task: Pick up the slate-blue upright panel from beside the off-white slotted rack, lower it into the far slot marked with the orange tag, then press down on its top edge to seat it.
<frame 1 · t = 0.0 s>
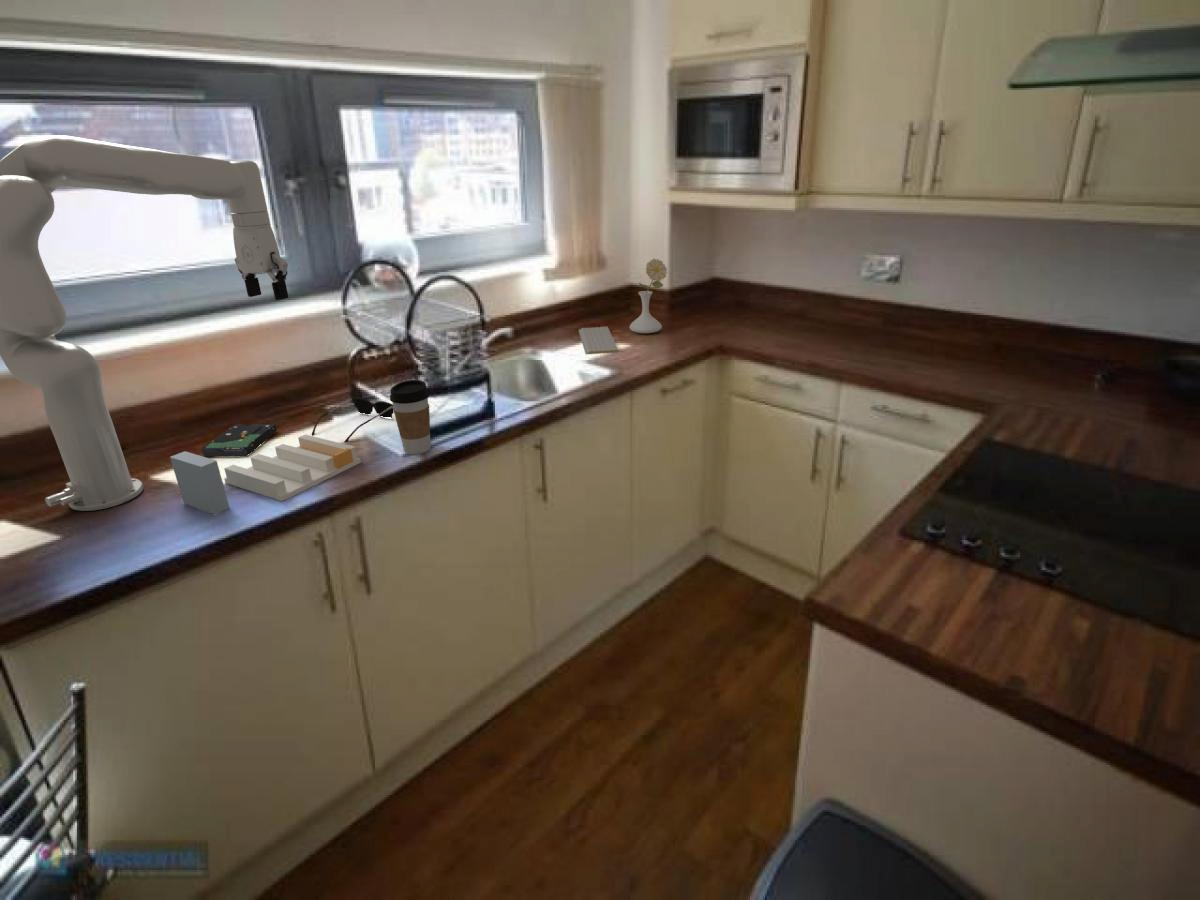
hand: (268, 297, 164), 31 cm above the worktop, tool pointing down, fingers open, 9 cm apart
panel: (206, 505, 137), on the worktop
flower in vase: (648, 332, 248), on the worktop
sunglasses: (353, 429, 173), on the worktop
baseboard: (595, 343, 239), on the worktop
coffee cup: (417, 449, 159), on the worktop
disk drive: (242, 446, 165), on the worktop
rack: (294, 472, 150), on the worktop
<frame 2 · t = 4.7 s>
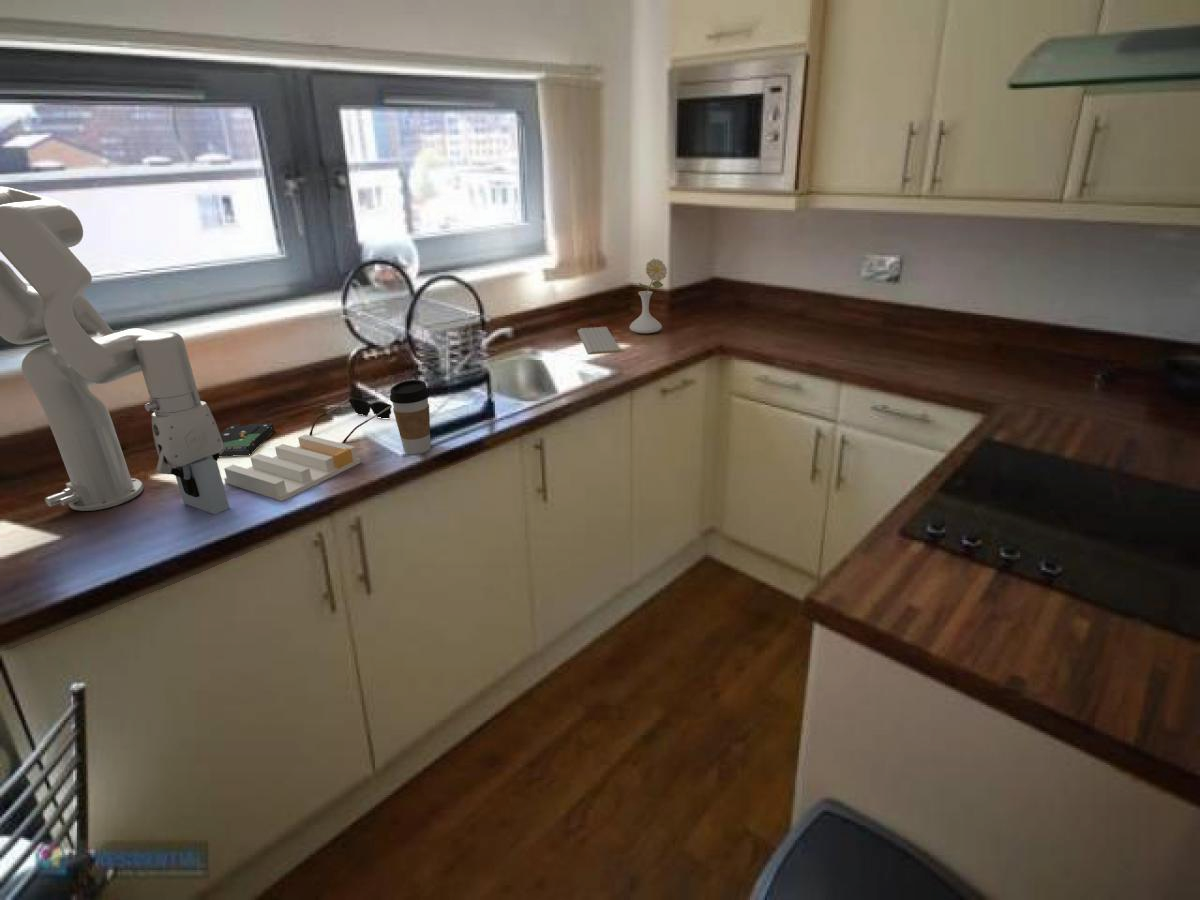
hand: (202, 490, 135), 3 cm above the worktop, tool pointing down, fingers closed on panel, 3 cm apart
panel: (206, 505, 137), on the worktop, touching gripper
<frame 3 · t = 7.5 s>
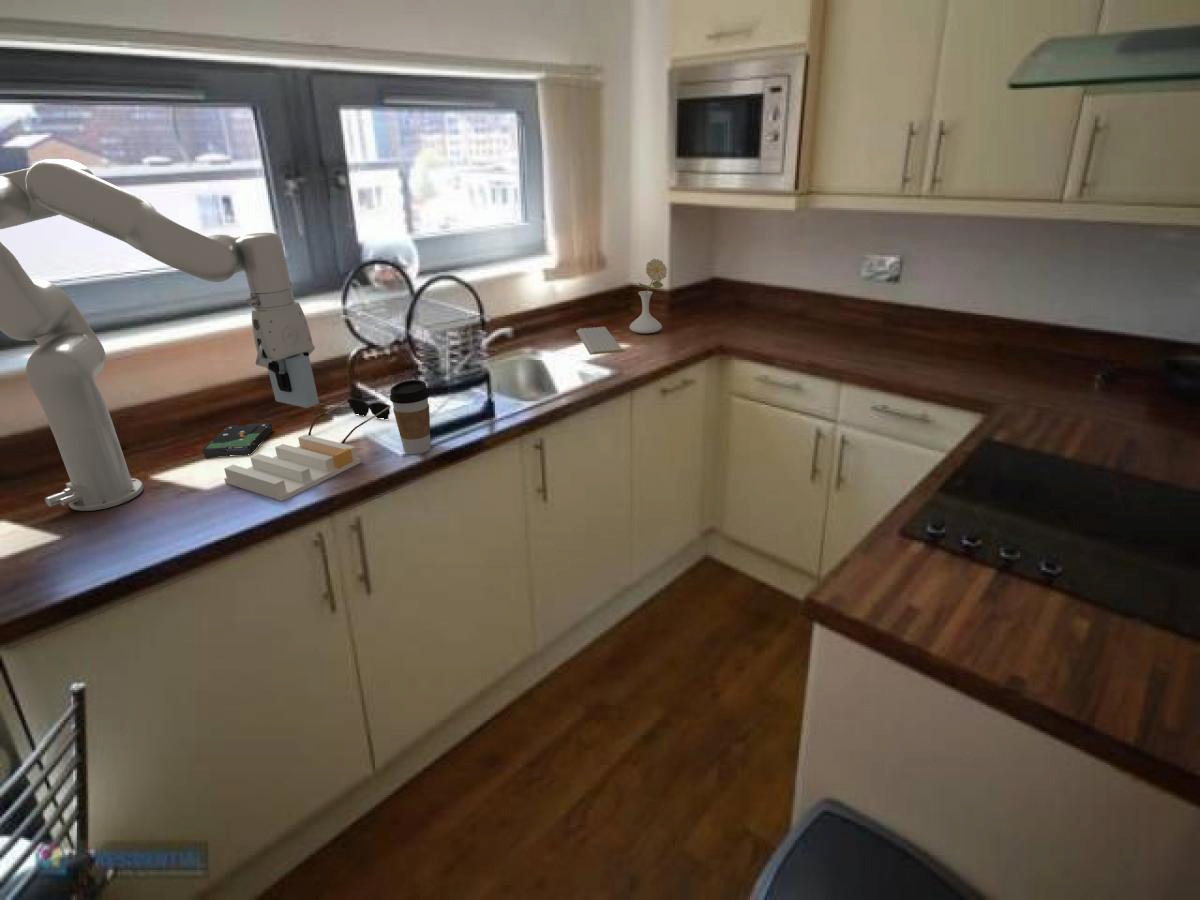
hand: (293, 387, 146), 18 cm above the worktop, tool pointing down, fingers closed on panel, 3 cm apart
panel: (297, 402, 147), point 14 cm above the worktop, touching gripper
when the fingers open (5 cm above the worktop, at t = 10.8 s): panel drops 1 cm, resting on rack.
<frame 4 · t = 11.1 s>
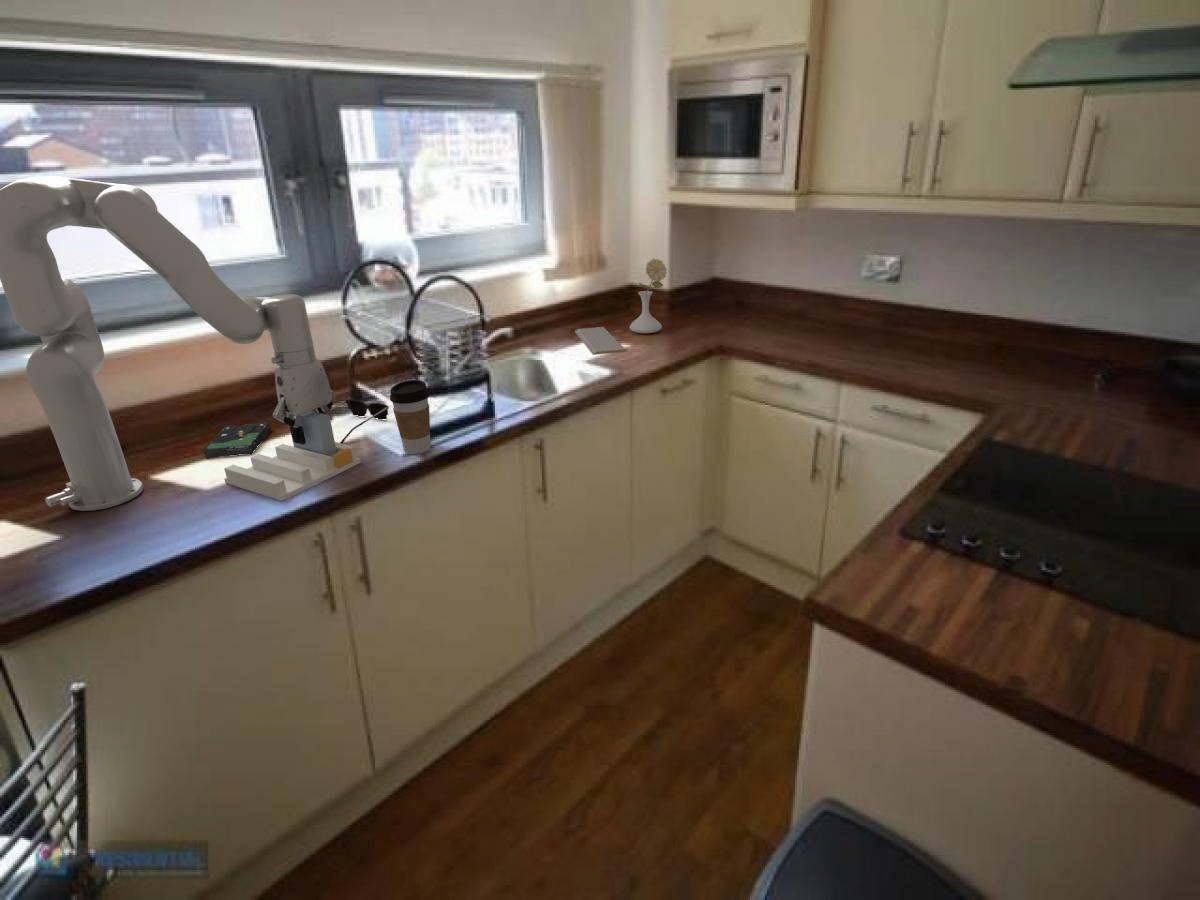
hand: (312, 436, 152), 6 cm above the worktop, tool pointing down, fingers open, 6 cm apart
panel: (316, 456, 154), point 1 cm above the worktop, touching rack
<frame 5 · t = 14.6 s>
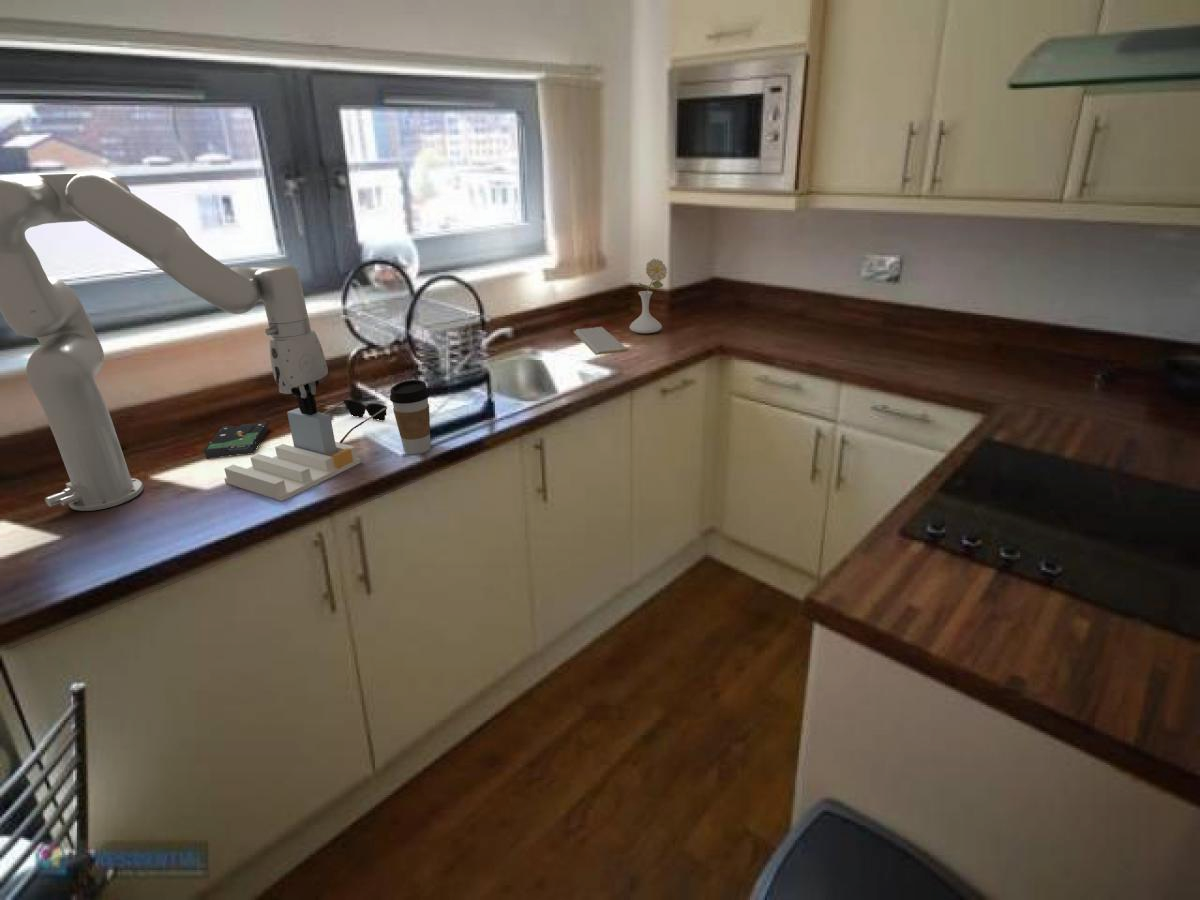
hand: (309, 413, 150), 11 cm above the worktop, tool pointing down, fingers closed
panel: (316, 456, 154), point 1 cm above the worktop, touching gripper, rack
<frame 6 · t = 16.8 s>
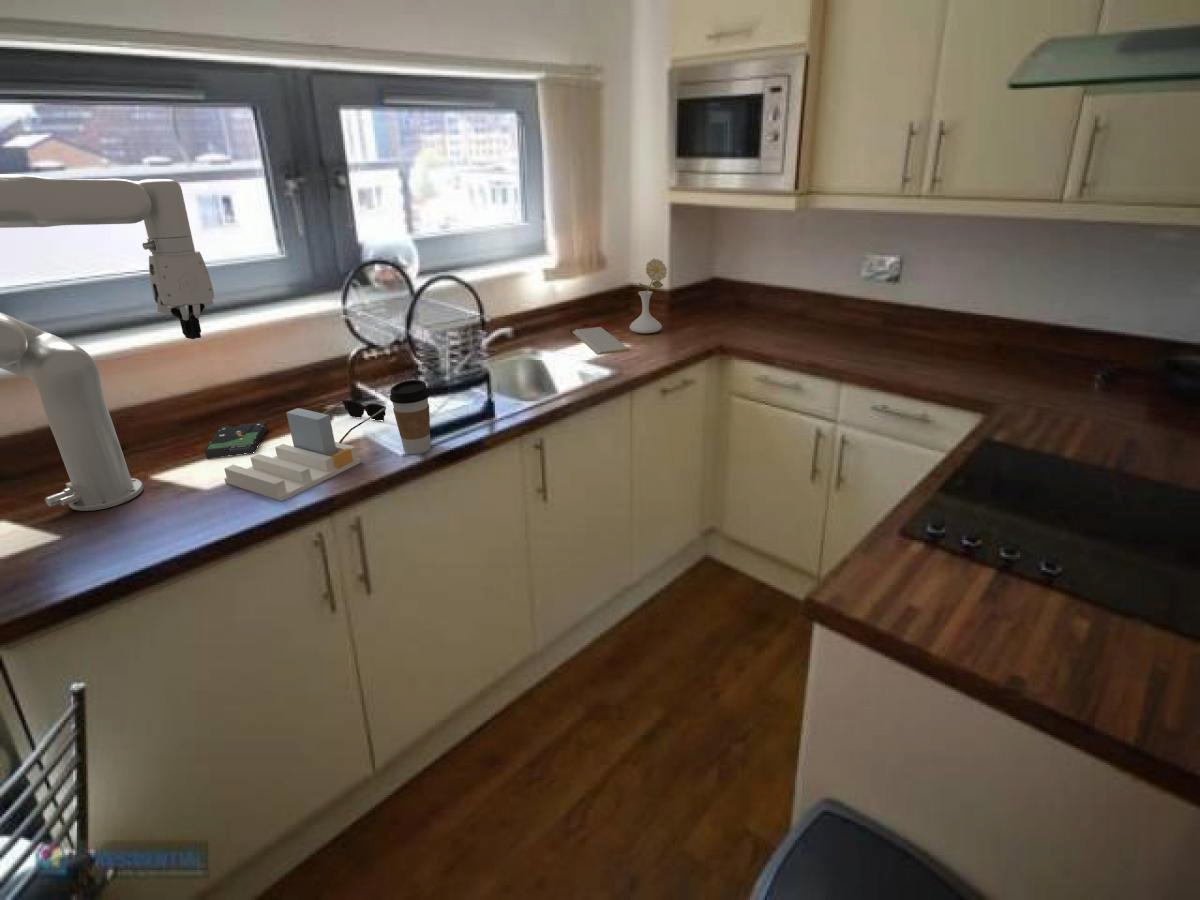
hand: (193, 337, 146), 28 cm above the worktop, tool pointing down, fingers closed
panel: (316, 456, 154), point 1 cm above the worktop, touching rack
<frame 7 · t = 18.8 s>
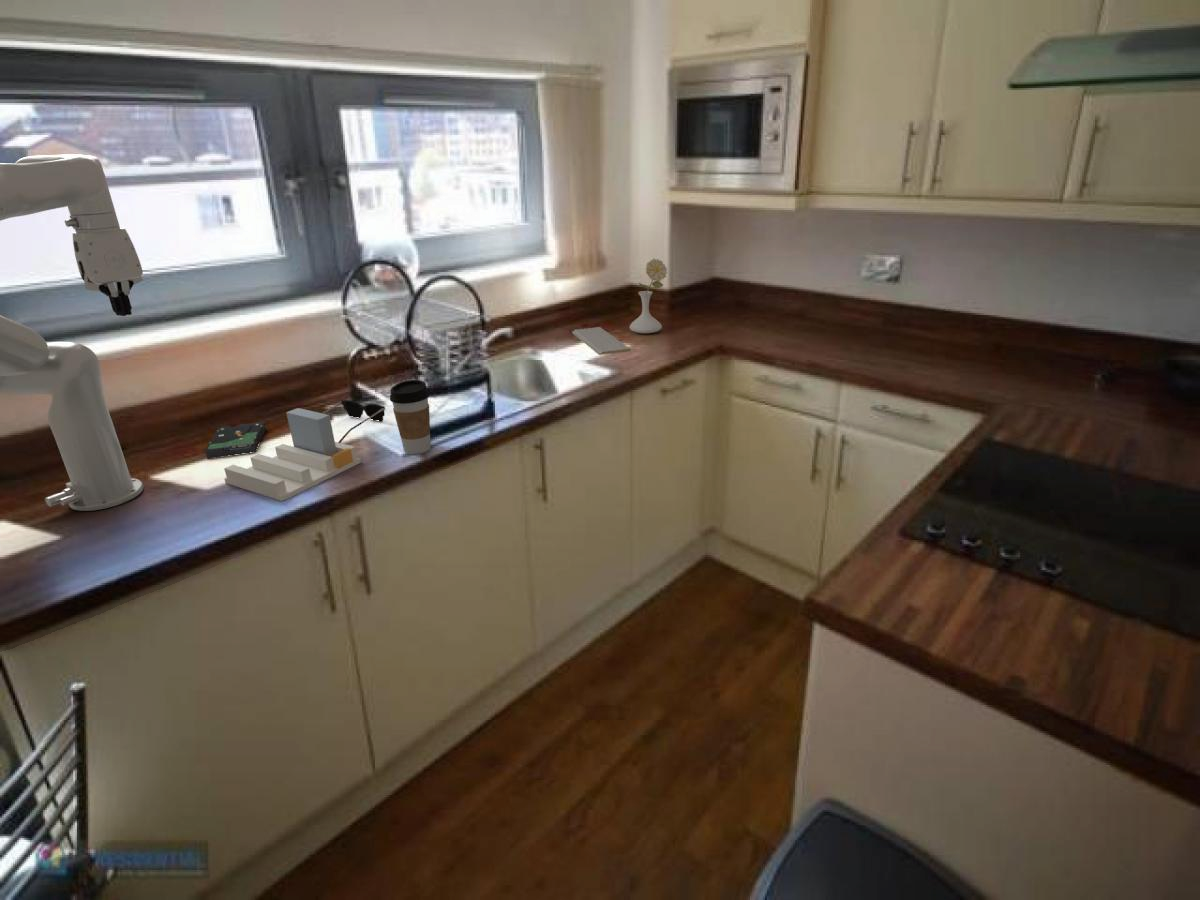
hand: (124, 314, 147), 32 cm above the worktop, tool pointing down, fingers closed
at the end: panel 0.1 cm from the target spot on the rack, point 1.2 cm above the rack's base; panel tilted 0°; the gripper is holding nothing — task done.
